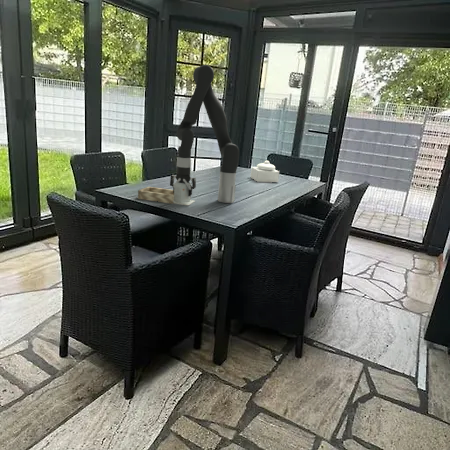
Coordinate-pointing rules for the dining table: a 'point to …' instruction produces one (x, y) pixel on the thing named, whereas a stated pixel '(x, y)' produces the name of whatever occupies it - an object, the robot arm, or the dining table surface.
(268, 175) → the butter dish
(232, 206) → the dining table surface
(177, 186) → the small box
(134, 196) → the dining table surface
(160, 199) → the beige piece
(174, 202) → the mat
